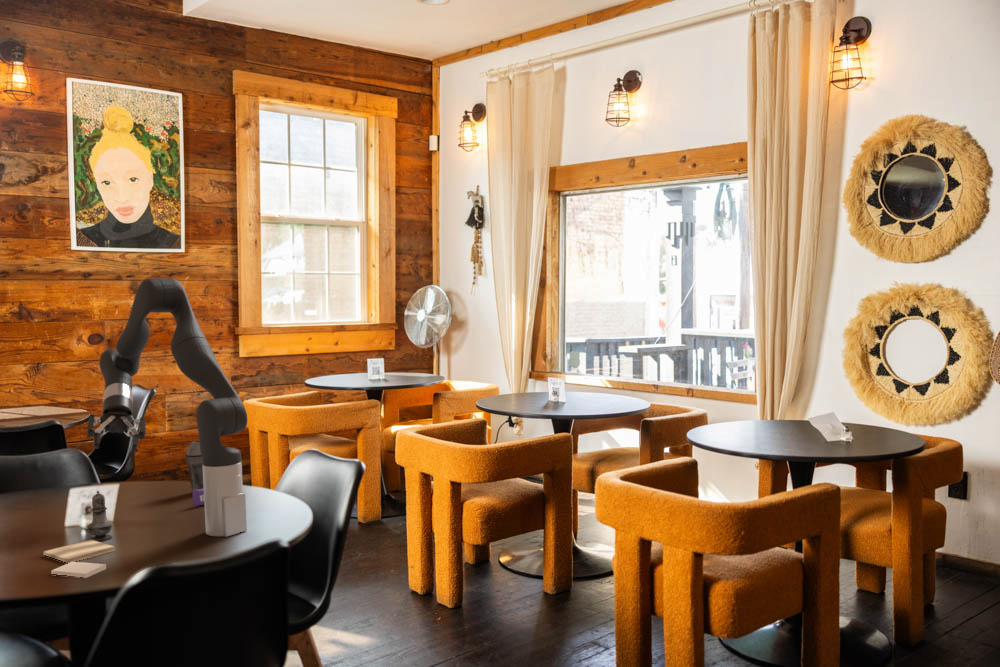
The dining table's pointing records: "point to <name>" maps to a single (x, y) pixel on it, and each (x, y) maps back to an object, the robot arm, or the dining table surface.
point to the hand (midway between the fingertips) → (115, 447)
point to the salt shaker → (99, 520)
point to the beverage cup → (195, 465)
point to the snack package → (198, 497)
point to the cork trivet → (79, 551)
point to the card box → (79, 569)
